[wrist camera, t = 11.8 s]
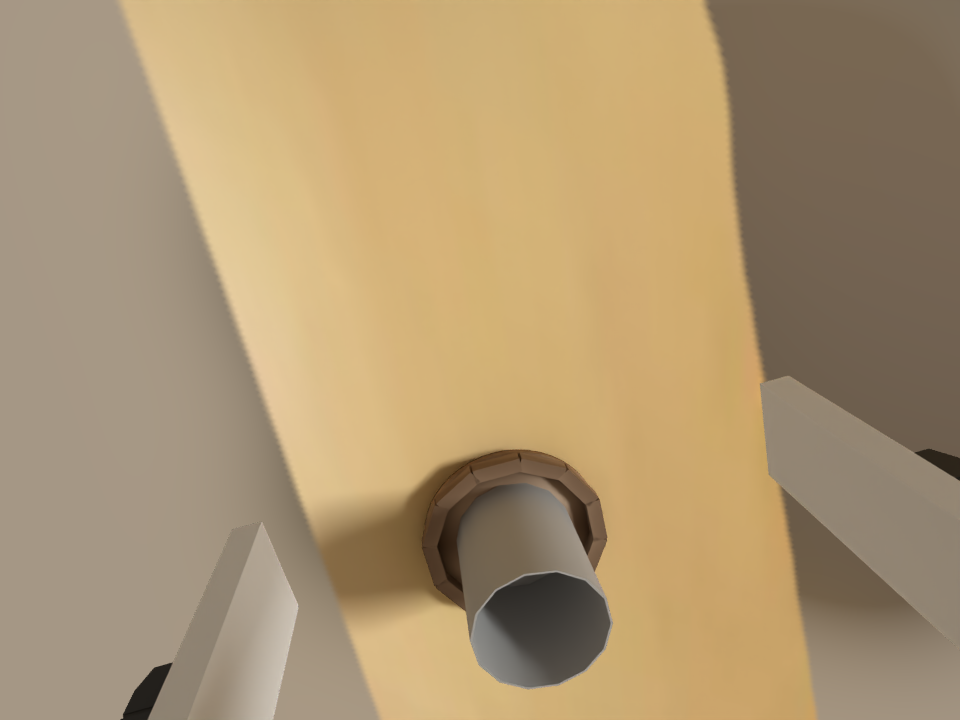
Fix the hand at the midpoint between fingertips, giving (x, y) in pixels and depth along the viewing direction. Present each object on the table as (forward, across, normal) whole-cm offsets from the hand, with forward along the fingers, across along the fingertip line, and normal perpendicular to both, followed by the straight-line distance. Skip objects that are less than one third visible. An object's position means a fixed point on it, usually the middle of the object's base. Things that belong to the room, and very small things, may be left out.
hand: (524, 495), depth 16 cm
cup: (+25, 0, -19) cm, 32 cm away
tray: (+26, 0, -19) cm, 32 cm away
